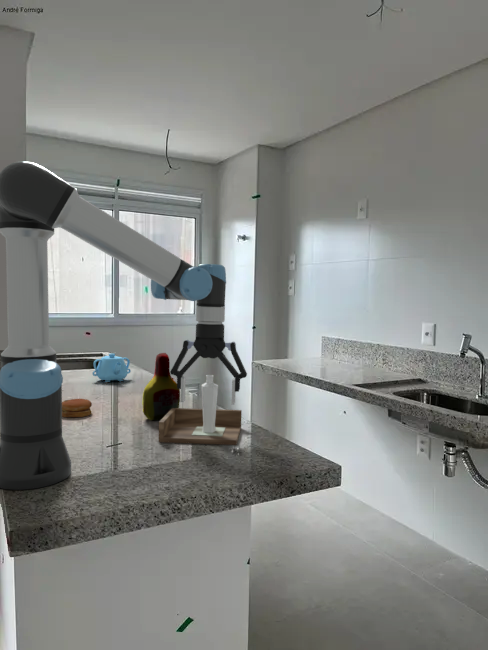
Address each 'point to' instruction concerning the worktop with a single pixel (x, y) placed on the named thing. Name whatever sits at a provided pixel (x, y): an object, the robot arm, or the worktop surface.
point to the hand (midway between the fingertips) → (207, 402)
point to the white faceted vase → (209, 404)
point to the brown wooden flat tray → (199, 427)
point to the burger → (76, 408)
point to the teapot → (111, 368)
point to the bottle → (160, 391)
